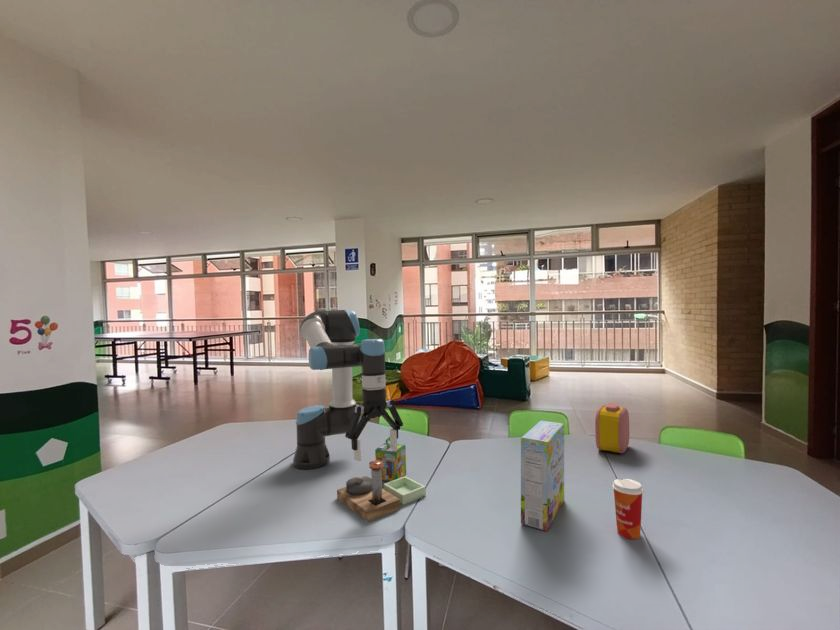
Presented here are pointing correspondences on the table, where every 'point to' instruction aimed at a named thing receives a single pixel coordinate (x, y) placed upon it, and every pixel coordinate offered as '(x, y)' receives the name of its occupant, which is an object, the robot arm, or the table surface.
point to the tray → (405, 489)
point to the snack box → (542, 474)
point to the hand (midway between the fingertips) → (376, 454)
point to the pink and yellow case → (612, 428)
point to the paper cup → (628, 507)
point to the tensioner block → (366, 499)
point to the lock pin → (376, 481)
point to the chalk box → (392, 461)
